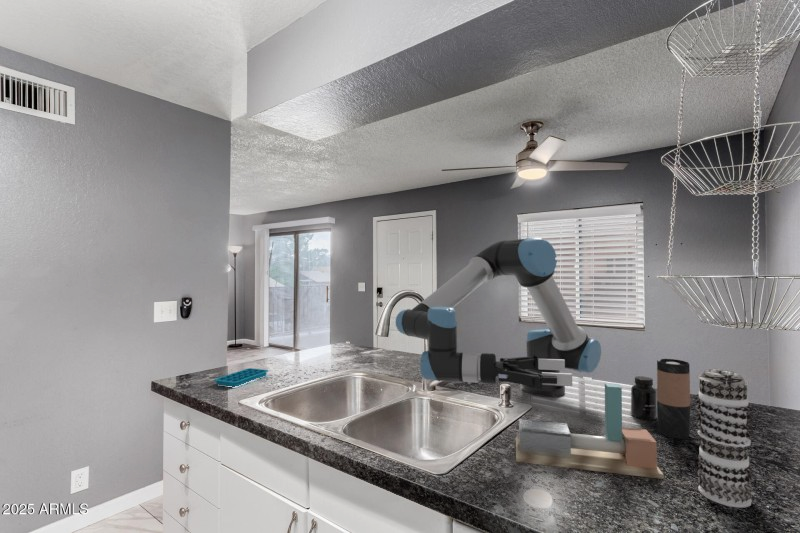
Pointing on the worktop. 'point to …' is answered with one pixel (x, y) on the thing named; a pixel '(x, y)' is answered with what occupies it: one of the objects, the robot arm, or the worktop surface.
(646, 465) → the socket
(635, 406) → the supplement bottle
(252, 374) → the ice cube tray
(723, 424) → the decorative candle
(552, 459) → the base board
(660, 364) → the travel mug
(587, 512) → the worktop surface
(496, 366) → the robot arm
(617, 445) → the slip tube
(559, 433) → the sleeve
